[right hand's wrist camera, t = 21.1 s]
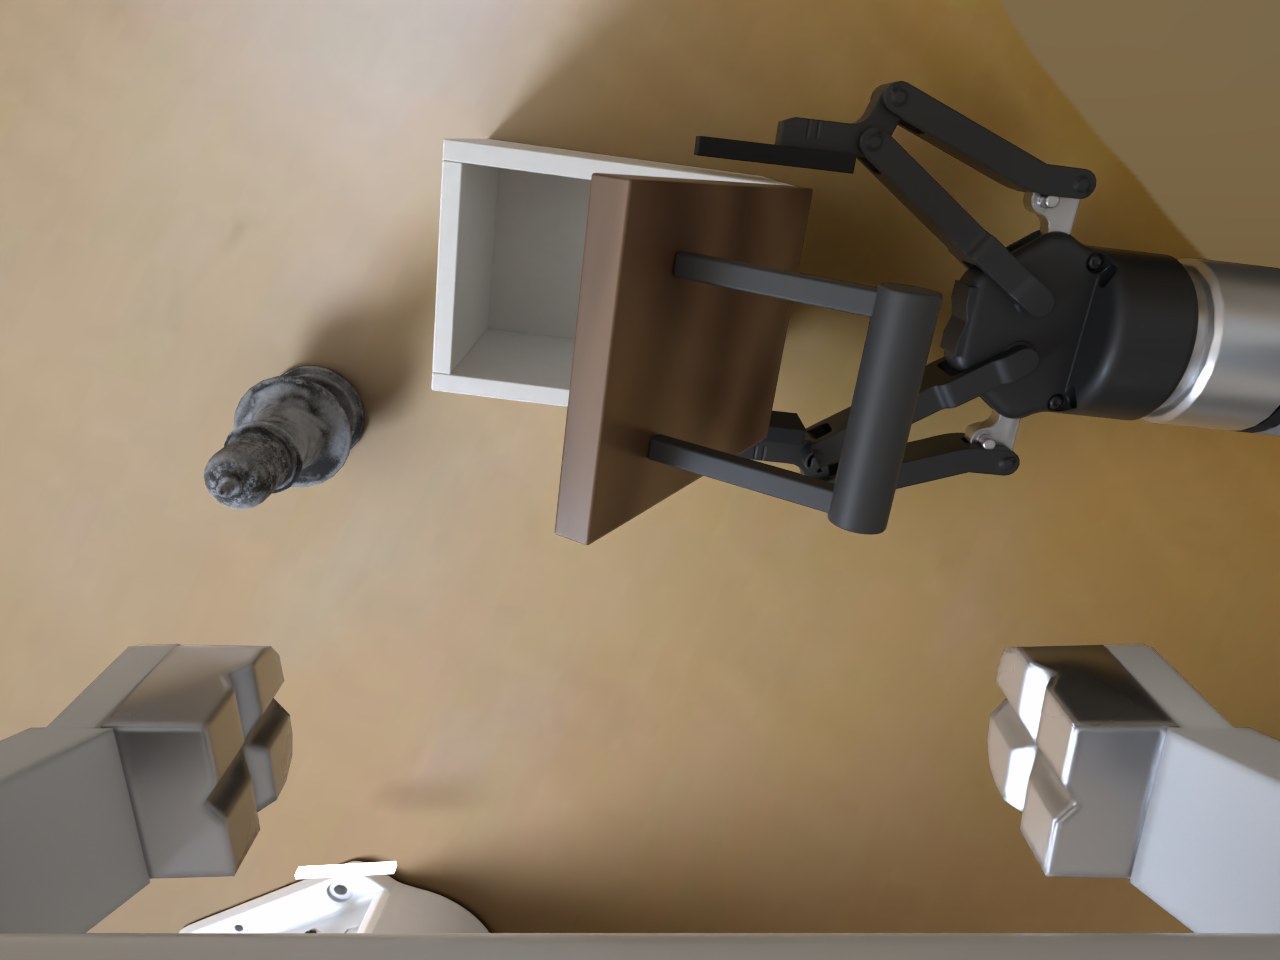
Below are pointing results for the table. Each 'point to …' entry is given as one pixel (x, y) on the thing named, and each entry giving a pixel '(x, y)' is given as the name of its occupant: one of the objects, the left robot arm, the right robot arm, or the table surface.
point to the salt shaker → (286, 436)
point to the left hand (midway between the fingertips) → (678, 286)
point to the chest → (519, 263)
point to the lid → (718, 354)
